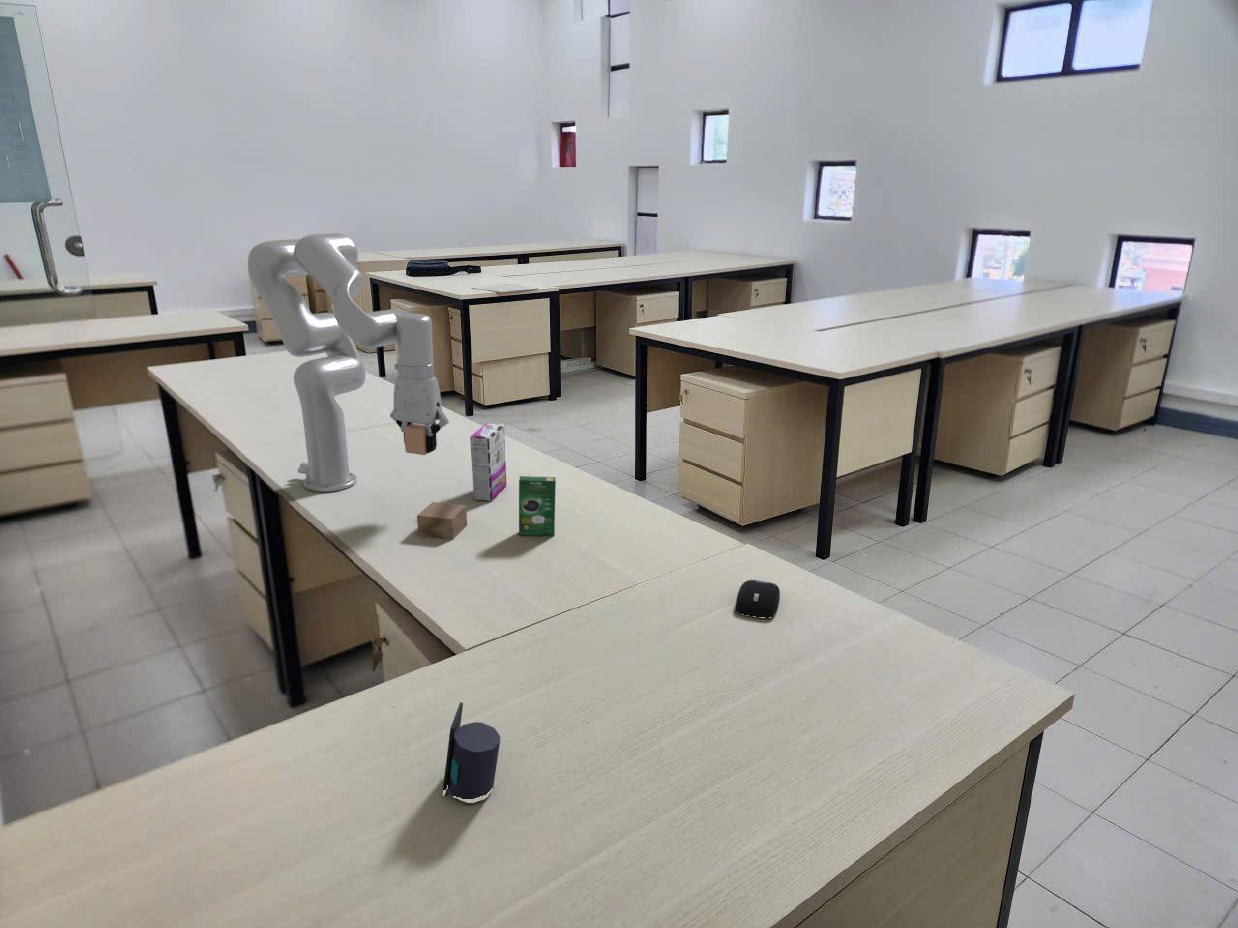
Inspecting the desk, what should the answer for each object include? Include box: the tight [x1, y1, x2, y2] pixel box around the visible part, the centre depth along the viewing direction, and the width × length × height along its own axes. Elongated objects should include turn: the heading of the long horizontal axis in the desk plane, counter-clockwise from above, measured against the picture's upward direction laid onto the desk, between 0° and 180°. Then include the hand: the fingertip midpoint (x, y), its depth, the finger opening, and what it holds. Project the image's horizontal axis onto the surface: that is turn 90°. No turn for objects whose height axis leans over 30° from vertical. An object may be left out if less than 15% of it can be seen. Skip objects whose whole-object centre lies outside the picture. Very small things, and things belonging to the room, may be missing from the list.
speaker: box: [442, 701, 501, 799], centre depth 103 cm, size 8×6×10 cm
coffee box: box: [518, 475, 557, 537], centre depth 177 cm, size 8×3×13 cm, turn 92°
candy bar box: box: [470, 422, 507, 502], centre depth 199 cm, size 11×5×16 cm, turn 168°
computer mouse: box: [735, 579, 781, 618], centre depth 151 cm, size 8×12×4 cm, turn 161°
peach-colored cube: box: [404, 423, 429, 456], centre depth 185 cm, size 5×5×6 cm
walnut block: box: [416, 501, 468, 541], centre depth 179 cm, size 8×8×5 cm
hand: (420, 448), depth 186 cm, fingers closed on peach-colored cube, 4 cm apart
